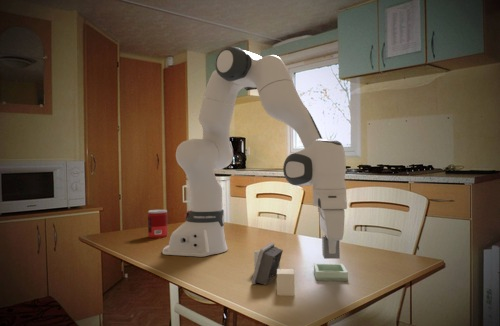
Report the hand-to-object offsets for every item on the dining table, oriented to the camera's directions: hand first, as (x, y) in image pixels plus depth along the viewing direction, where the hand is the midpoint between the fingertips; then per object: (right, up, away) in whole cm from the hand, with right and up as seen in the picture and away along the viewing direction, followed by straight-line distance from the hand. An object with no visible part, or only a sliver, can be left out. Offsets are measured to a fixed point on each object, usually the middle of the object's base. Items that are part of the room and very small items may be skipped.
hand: (330, 250), depth 100 cm
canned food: (-61, -8, +57) cm, 84 cm away
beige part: (-13, -7, -12) cm, 19 cm away
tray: (0, -7, 0) cm, 7 cm away
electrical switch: (-17, -7, -3) cm, 19 cm away
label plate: (-17, -7, +4) cm, 19 cm away
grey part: (0, -2, 0) cm, 2 cm away
